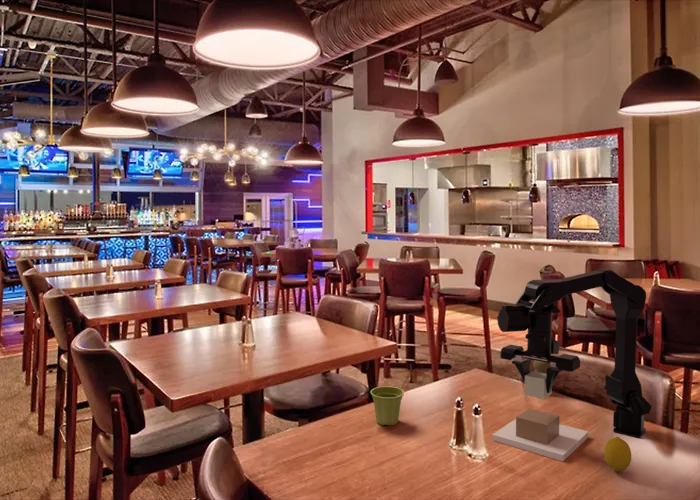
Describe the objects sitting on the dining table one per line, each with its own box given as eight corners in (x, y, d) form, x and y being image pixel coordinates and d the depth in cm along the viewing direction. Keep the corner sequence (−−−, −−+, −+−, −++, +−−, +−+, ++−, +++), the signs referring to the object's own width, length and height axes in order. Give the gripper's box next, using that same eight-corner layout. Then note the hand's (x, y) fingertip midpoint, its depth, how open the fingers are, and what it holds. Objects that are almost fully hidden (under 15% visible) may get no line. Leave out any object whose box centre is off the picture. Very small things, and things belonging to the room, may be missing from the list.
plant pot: (411, 422, 149) (411, 392, 148) (385, 431, 143) (385, 399, 142) (389, 413, 156) (388, 384, 155) (364, 420, 150) (363, 390, 150)
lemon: (628, 467, 121) (629, 433, 121) (632, 479, 116) (633, 443, 116) (602, 464, 123) (602, 430, 123) (605, 475, 118) (606, 440, 117)
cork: (554, 395, 170) (554, 362, 169) (535, 395, 170) (535, 362, 169) (547, 389, 176) (548, 356, 175) (529, 389, 176) (529, 357, 175)
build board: (588, 437, 138) (588, 412, 138) (562, 461, 125) (563, 434, 124) (522, 419, 150) (522, 397, 150) (492, 440, 137) (492, 415, 136)
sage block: (551, 394, 136) (552, 375, 135) (543, 399, 132) (544, 379, 132) (532, 389, 139) (533, 371, 139) (524, 394, 135) (524, 375, 135)
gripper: (588, 330, 134) (587, 390, 135) (518, 320, 147) (517, 376, 148) (572, 337, 126) (571, 402, 127) (499, 326, 138) (498, 385, 139)
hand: (538, 390), depth 135 cm, fingers closed on sage block, 5 cm apart
